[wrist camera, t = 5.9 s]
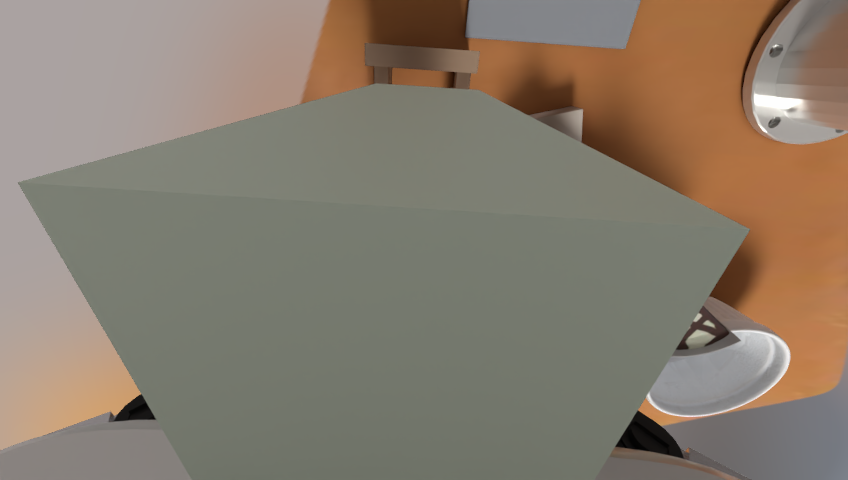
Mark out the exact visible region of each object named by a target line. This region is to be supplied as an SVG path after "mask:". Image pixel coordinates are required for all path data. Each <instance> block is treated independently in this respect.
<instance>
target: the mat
mask: <svg viewBox="0 0 848 480" xmlns="http://www.w3.org/2000/svg"><path fill="white" fill-rule="evenodd" d="M640 1H641V0H469V3H468V13H467V22H466V32H465V38H479V39H492V40H506V41H520V42H533V43H547V44H560V45H574V46H587V47H601V48H614V49H625V48H626V45H627V41H628V38H629V35H630V32H631V29H632V26H633V23H634V19H635V16H636V13H637V10H638V7H639V4H640Z"/></svg>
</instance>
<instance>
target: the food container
mask: <svg viewBox="0 0 848 480" xmlns="http://www.w3.org/2000/svg"><path fill="white" fill-rule="evenodd" d="M738 342H741V340H740V339H739V338H738V337H737V336H736V335H735V334H733V333H732V332H731V331H730V330H729V329H728V328H727V327H726V326H724V325H723V324H722V323H721V322H720V321H719V320H718V319H717V318H715V317H714V316H713V315H712V314H711V313H710V312H709V311H708V310H707V309H706V308H705V307H704V306H702V308H701V309H700V311H699V313H698V314H697V316H696V317H695V319H694V321H693V322H692V324H691V325H690V327H689V329H688V330H687V332H686V333H685V335H684V337H683V338H682V340H681V342H680V343H679V345H678V346H677V348H676V350H675V351H674V353H673V354H672V356H671V357H692V356H699V355H704V354H709V353H712V352H716V351H719V350H722V349H724V348H727V347H730V346H732V345H734V344H736V343H738Z"/></svg>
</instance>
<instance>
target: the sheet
mask: <svg viewBox="0 0 848 480" xmlns="http://www.w3.org/2000/svg"><path fill="white" fill-rule="evenodd" d="M18 184H19V185H20V187H21V189H22V191H23V192H24V194H25V196H26V197H27V199H28V201H29V203H30V204H31V206H32V208H33V209H34V211H35V213H36V215H37V216H38V218H39V220H40V221H41V223H42V225H43V226H44V228H45V230H46V232H47V233H48V235H49V236H50V238H51V240H52V242H53V244H54V245H55V247H56V249H57V250H58V252H59V254H60V256H61V257H62V259H63V260H64V262H65V264H66V266H67V268H68V269H69V271H70V272H71V274H72V276H73V278H74V280H75V281H76V283H77V285H78V286H79V288H80V290H81V291H82V293H83V295H84V297H85V298H86V300H87V302H88V303H89V305H90V307H91V309H92V310H93V312H94V314H95V315H96V317H97V319H98V320H99V322H100V324H101V326H102V327H103V329H104V331H105V332H106V334H107V336H108V338H109V339H110V341H111V342H112V344H113V346H114V348H115V350H116V351H117V353H118V355H119V356H120V358H121V360H122V362H123V363H124V365H125V367H126V368H127V370H128V371H129V374H130V375H131V377H132V379H133V380H134V382H135V384H136V385H137V387H138V389H139V391H140V392H141V394H142V396H143V397H144V399H145V401H146V403H147V404H148V406H149V408H150V409H151V411H152V413H153V415H154V416H155V418H156V420H157V421H158V423H159V425H160V427H161V428H162V430H163V432H164V433H165V435H166V437H167V438H168V440H169V442H170V444H171V445H172V447H173V449H174V450H175V452H176V454H177V456H178V457H179V459H180V461H181V462H182V464H183V466H184V468H185V469H186V471H187V473H188V474H189V476H190V478H191V480H595V478H596V476H597V475H598V473H599V472H600V470H601V468H602V467H603V465H604V464H605V462H606V460H607V459H608V457H609V456H610V454H611V452H612V451H613V449H614V448H615V446H616V444H617V443H618V441H619V439H620V438H621V436H622V435H623V433H624V431H625V430H626V428H627V427H628V425H629V423H630V422H631V420H632V419H633V417H634V415H635V414H636V412H637V411H638V409H639V407H640V406H641V404H642V403H643V401H644V399H645V398H646V396H647V395H648V393H649V391H650V390H651V388H652V386H653V385H654V383H655V382H656V380H657V378H658V377H659V375H660V374H661V372H662V370H663V369H664V367H665V366H666V364H667V362H668V361H669V359H670V358H671V356H672V354H673V353H674V351H675V350H676V348H677V346H678V345H679V343H680V342H681V340H682V338H683V337H684V335H685V333H686V332H687V330H688V329H689V327H690V325H691V324H692V322H693V321H694V319H695V317H696V316H697V314H698V313H699V311H700V309H701V308H702V306H703V305H704V303H705V301H706V300H707V298H708V297H709V295H710V293H711V292H712V290H713V289H714V287H715V285H716V284H717V282H718V280H719V279H720V277H721V276H722V274H723V272H724V271H725V269H726V268H727V266H728V264H729V263H730V261H731V260H732V258H733V256H734V255H735V253H736V252H737V250H738V248H739V247H740V245H741V244H742V242H743V240H744V239H745V237H746V235H747V234H748V232H749V231H750V229H748V228H747V227H745V226H743V225H741V224H739V223H737V222H735V221H733V220H731V219H729V218H727V217H725V216H723V215H721V214H719V213H717V212H715V211H713V210H711V209H710V208H708V207H706V206H704V205H702V204H700V203H698V202H696V201H694V200H692V199H690V198H688V197H686V196H684V195H682V194H680V193H678V192H676V191H674V190H673V189H671V188H669V187H667V186H665V185H663V184H661V183H659V182H657V181H655V180H653V179H651V178H649V177H647V176H645V175H643V174H641V173H639V172H637V171H636V170H634V169H632V168H630V167H628V166H626V165H624V164H622V163H620V162H618V161H616V160H614V159H612V158H610V157H608V156H606V155H604V154H602V153H600V152H599V151H597V150H595V149H593V148H591V147H589V146H587V145H585V144H583V143H581V142H579V141H577V140H575V139H573V138H571V137H569V136H567V135H565V134H563V133H562V132H560V131H558V130H556V129H554V128H552V127H550V126H548V125H546V124H544V123H542V122H540V121H538V120H536V119H534V118H532V117H530V116H528V115H526V114H525V113H523V112H521V111H519V110H517V109H515V108H513V107H511V106H509V105H507V104H505V103H503V102H501V101H499V100H497V99H495V98H493V97H491V96H489V95H488V94H486V93H484V92H482V91H480V90H470V89H455V88H439V87H424V86H409V85H393V84H378V83H376V84H372V85H368V86H365V87H361V88H358V89H354V90H350V91H347V92H343V93H339V94H336V95H332V96H329V97H325V98H321V99H318V100H314V101H311V102H307V103H303V104H300V105H296V106H292V107H289V108H286V109H282V110H278V111H274V112H271V113H268V114H264V115H260V116H256V117H253V118H249V119H246V120H242V121H238V122H235V123H231V124H228V125H224V126H220V127H217V128H213V129H210V130H206V131H203V132H199V133H195V134H191V135H188V136H184V137H181V138H177V139H174V140H170V141H166V142H163V143H159V144H155V145H152V146H148V147H145V148H141V149H137V150H134V151H130V152H127V153H123V154H119V155H115V156H112V157H108V158H105V159H101V160H98V161H94V162H90V163H87V164H83V165H79V166H76V167H73V168H69V169H65V170H62V171H58V172H54V173H51V174H47V175H43V176H40V177H36V178H32V179H29V180H25V181H22V182H18Z"/></svg>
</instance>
